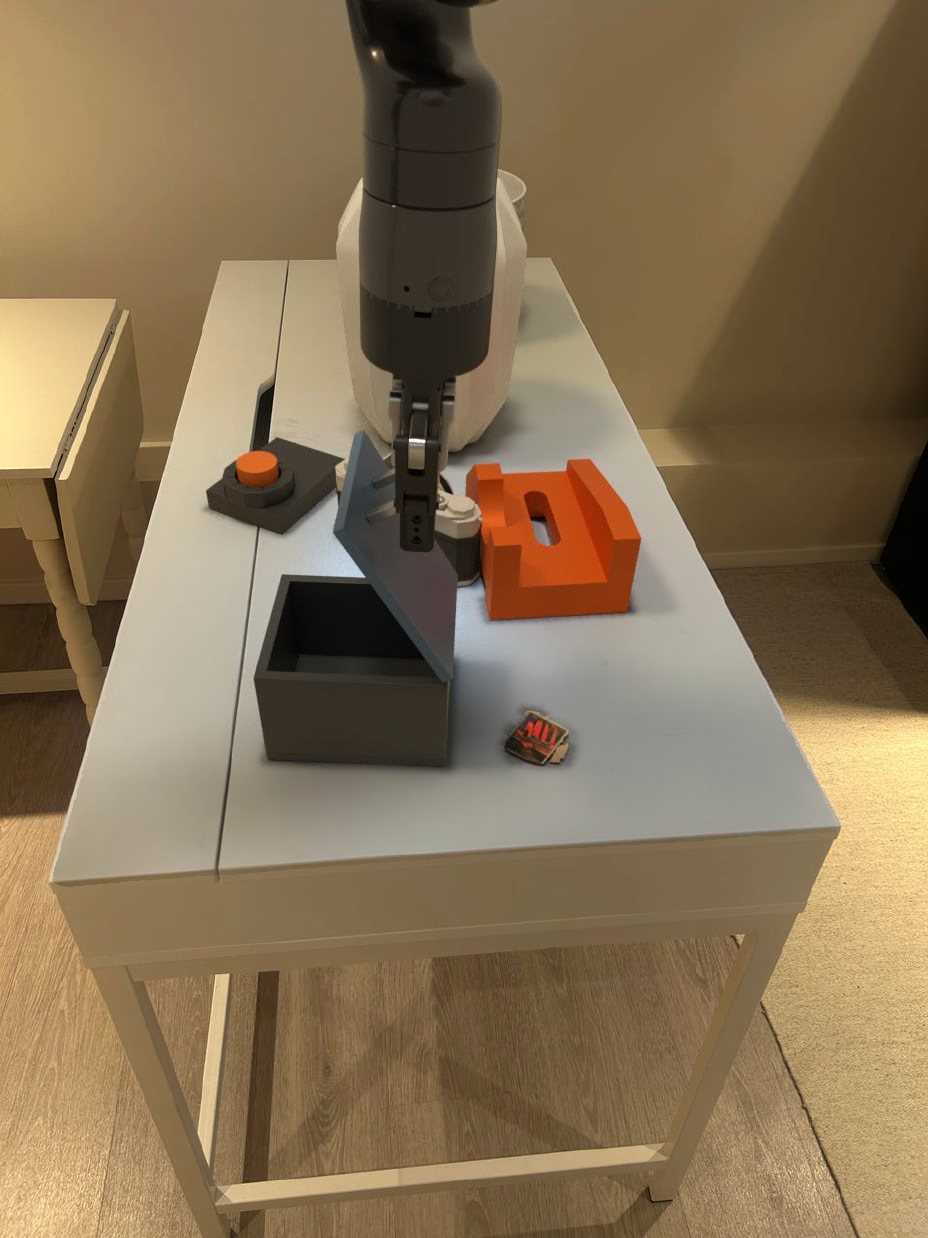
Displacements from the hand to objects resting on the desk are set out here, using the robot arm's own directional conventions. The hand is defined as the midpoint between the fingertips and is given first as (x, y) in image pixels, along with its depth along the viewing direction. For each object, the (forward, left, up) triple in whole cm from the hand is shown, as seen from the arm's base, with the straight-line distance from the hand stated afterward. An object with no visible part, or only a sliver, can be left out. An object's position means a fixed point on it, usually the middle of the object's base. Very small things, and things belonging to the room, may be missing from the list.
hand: (419, 522), depth 63 cm
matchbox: (+10, -3, -19) cm, 21 cm away
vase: (-1, +44, -19) cm, 48 cm away
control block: (-16, +30, -19) cm, 39 cm away
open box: (-4, 0, -19) cm, 19 cm away
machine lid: (-1, 0, -3) cm, 3 cm away
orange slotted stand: (+11, +21, -19) cm, 30 cm away
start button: (-18, +27, -15) cm, 36 cm away
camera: (-1, +22, -19) cm, 29 cm away
